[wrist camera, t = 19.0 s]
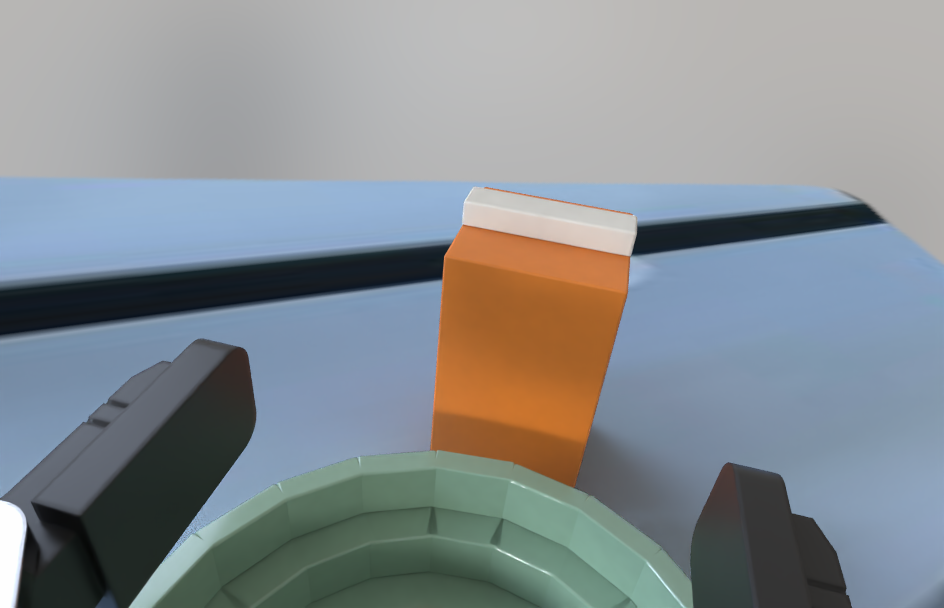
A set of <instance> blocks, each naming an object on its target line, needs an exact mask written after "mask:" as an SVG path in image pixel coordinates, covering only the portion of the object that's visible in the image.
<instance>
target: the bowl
mask: <svg viewBox="0 0 944 608" xmlns="http://www.w3.org/2000/svg"><path fill="white" fill-rule="evenodd" d="M129 608H693V596H692V582H691V581H690V579H689V578H688V577H687V576H686V575H685V573H684V572H683V571H682V570H681V569H680V568H679V566H678V565H677V564H676V563H675V562H674V561H673V559H672V558H671V557H670V556H669V555H668V554H667V552H666V551H665V550H662V547H661V546H660V545H658V544H657V543H656V542H654V541H653V540H652V539H650V538H649V537H648V536H646V535H645V534H643V533H642V532H641V531H639V530H638V529H637V528H635V527H634V526H633V525H631V524H630V523H629V522H627V521H626V520H624V519H623V518H622V517H620V516H619V515H618V514H616V513H615V512H614V511H612V510H611V509H609V508H608V507H607V506H605V505H604V504H603V503H601V502H600V501H599V500H597V499H596V498H594V497H593V496H591V495H590V496H589V495H588V494H587V493H585V492H583V491H580V490H578V489H575V488H573V487H571V486H568V485H566V484H564V483H561V482H559V481H556V480H554V479H552V478H549V477H547V476H545V475H542V474H540V473H538V472H535V471H533V470H530V469H528V468H526V467H523V466H521V465H519V464H514V462H510V461H503V460H497V459H491V458H485V457H479V456H473V455H467V454H460V453H454V452H448V451H442V450H437V452H436V451H434V450H433V451H420V452H407V453H394V454H381V455H368V456H359V457H358V458H357V457H354V458H351V459H348V460H345V461H342V462H338V463H335V464H332V465H329V466H326V467H323V468H320V469H317V470H314V471H311V472H308V473H305V474H302V475H299V476H295V477H292V478H289V479H286V480H283V481H280V482H278V483H277V485H276V484H273V485H272V486H270V487H268V488H267V489H265V490H263V491H262V492H260V493H259V494H257V495H255V496H254V497H252V498H250V499H249V500H247V501H245V502H244V503H242V504H241V505H239V506H237V507H236V508H234V509H232V510H231V511H229V512H227V513H226V514H224V515H222V516H221V517H219V518H218V519H216V520H214V521H213V522H211V523H209V524H208V525H206V526H204V527H203V528H201V529H200V530H198V531H197V532H196V533H195V534H191V535H190V536H189V537H188V538H187V539H186V540H185V541H184V542H183V543H182V544H181V545H180V546H179V547H178V548H177V549H176V550H175V551H174V552H173V553H172V554H171V555H170V556H169V557H168V558H167V559H166V560H165V561H164V562H163V563H162V564H161V565H160V566H159V567H158V568H157V569H156V571H155V572H154V574H153V575H152V576H151V578H150V579H149V580H148V582H147V583H146V585H145V586H144V587H143V589H142V590H141V591H140V593H139V594H138V595H137V597H136V598H135V600H134V601H133V602H132V604H131V605H130V606H129Z"/></svg>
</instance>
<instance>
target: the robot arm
mask: <svg viewBox="0 0 944 608" xmlns="http://www.w3.org/2000/svg"><path fill="white" fill-rule="evenodd" d="M255 422H256V407H255V400H254V393H253V386H252V379H251V372H250V365H249V358H248V354H247V352H246V351H245V349H243V348H241V347H237V346H233V345H228V344H224V343H220V342H215V341H211V340H207V339H197V340H195V341H194V342H192V343H191V344H190V345H189V346H188V347H187V348H186V349H185V350H184V351H183V352H182V353H181V354H180V355H179V356H178V357H177V358H176V359H175V360H174V361H173V362H172V363H171V362H167V361H161V362H159V363H157V364H156V365H154V366H152V367H150V368H148V369H146V370H144V371H142V372H140V373H138V374H137V375H135V376H133V377H131V378H130V379H129V380H128V381H127V382H126V383H125V384H124V385H123V386H122V387H120V388H119V389H118V390H117V391H116V392H115V393H114V394H113V395H112V396H111V397H110V398H109V399H108V402H107V404H104V403H103V404H102V405H101V406H100V407H99V408H98V409H97V410H96V411H95V412H94V413H93V414H92V415H90V416H89V419H88V421H87V422H86V423H85V422H83V423H82V424H81V425H80V426H79V427H78V428H76V429H75V430H74V431H73V432H72V433H71V434H70V435H69V436H68V437H67V438H66V439H65V440H64V441H63V442H61V443H60V444H59V445H58V446H57V447H56V448H55V449H54V450H53V451H52V452H51V453H50V454H49V455H48V456H46V457H45V458H44V459H43V460H42V461H41V462H40V463H39V464H38V465H37V466H36V467H35V468H34V469H33V470H31V471H30V472H29V473H28V474H27V475H26V476H25V477H24V478H23V479H22V480H21V481H20V482H19V483H18V484H16V485H15V486H14V487H13V488H12V489H11V490H10V491H9V492H8V493H6V494H5V495H4V496H3V497H2V498H0V608H129V606H130V605H131V604H132V602H133V601H134V600H135V598H136V597H137V595H138V594H139V593H140V591H141V590H142V589H143V587H144V586H145V585H146V583H147V582H148V580H149V579H150V578H151V576H152V575H153V574H154V572H155V571H156V569H157V568H158V567H159V565H160V564H161V563H162V561H163V560H164V559H165V557H166V556H167V554H168V553H169V552H170V550H171V549H172V548H173V546H174V545H175V543H176V542H177V541H178V539H179V538H180V537H181V535H182V534H183V532H184V531H185V530H186V528H187V527H188V526H189V524H190V523H191V522H192V520H193V519H194V517H195V516H196V515H197V513H198V512H199V511H200V509H201V508H202V506H203V505H204V504H205V502H206V501H207V500H208V498H209V497H210V496H211V494H212V493H213V491H214V490H215V489H216V487H217V486H218V485H219V483H220V482H221V480H222V479H223V478H224V476H225V475H226V474H227V472H228V471H229V470H230V468H231V467H232V465H233V464H234V463H235V461H236V460H237V459H238V457H239V456H240V454H241V453H242V452H243V450H244V449H245V447H246V446H247V444H248V442H249V441H250V438H251V436H252V433H253V430H254V427H255ZM690 562H691V580H692V596H693V608H852V606H851V602H850V599H849V596H848V595H846V589H847V588H846V585H845V581H844V578H843V574H842V570H841V567H840V563H839V560H838V556H837V553H836V551H835V550H834V548H833V547H832V545H831V544H830V543H829V541H828V540H827V538H826V537H825V535H824V534H823V532H822V531H821V530H820V528H819V527H818V525H817V524H816V522H815V521H814V519H813V518H809V517H805V516H801V515H796V514H792V513H791V509H790V504H789V500H788V496H787V491H786V487H785V483H784V480H783V478H782V477H781V475H779V474H777V473H772V472H768V471H764V470H759V469H755V468H751V467H747V466H742V465H738V464H734V463H729V462H728V463H726V464H725V465H724V466H723V468H722V470H721V472H720V474H719V476H718V478H717V480H716V482H715V485H714V487H713V489H712V491H711V493H710V495H709V497H708V500H707V502H706V504H705V506H704V508H703V510H702V512H701V515H700V517H699V519H698V521H697V524H696V526H695V530H694V534H693V538H692V545H691V559H690Z"/></svg>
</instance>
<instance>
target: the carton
mask: <svg viewBox="0 0 944 608" xmlns="http://www.w3.org/2000/svg"><path fill="white" fill-rule="evenodd" d="M462 223H463V225H462V227H461V229H460V231H459V232H458V234H457V236H456V237H455V239H454V241H453V243H452V244H451V246H450V248H449V249H448V251H447V253H446V255H445V256H444V268H443V282H442V296H441V310H440V324H439V337H438V351H437V365H436V379H435V393H434V407H433V420H432V434H431V448H430V451H433V450H434V451H436V452H437V450H442V451H448V452H454V453H460V454H467V455H473V456H479V457H485V458H491V459H497V460H503V461H510V462H514V464H519V465H521V466H523V467H526V468H528V469H530V470H533V471H535V472H538V473H540V474H542V475H545V476H547V477H549V478H552V479H554V480H556V481H559V482H561V483H564V484H566V485H568V486H571V487H573V488H575V484H576V481H577V477H578V474H579V470H580V466H581V463H582V459H583V455H584V452H585V448H586V444H587V441H588V437H589V433H590V430H591V426H592V422H593V419H594V415H595V411H596V408H597V404H598V400H599V397H600V393H601V389H602V386H603V382H604V379H605V375H606V371H607V368H608V364H609V360H610V357H611V353H612V349H613V346H614V342H615V338H616V335H617V331H618V327H619V324H620V320H621V316H622V313H623V309H624V305H625V302H626V298H627V294H628V282H629V268H630V255H631V254H632V250H633V246H634V242H635V239H636V235H637V217H636V216H633V214H631V213H625V212H620V211H614V210H609V209H603V208H598V207H592V206H587V205H581V204H576V203H570V202H565V201H559V200H554V199H548V198H543V197H537V196H532V195H526V194H521V193H515V192H510V191H504V190H499V189H493V188H488V187H485V188H480V187H473V188H472V190H471V192H470V193H469V195H468V196H467V198H466V200H465V201H464V207H463V218H462Z"/></svg>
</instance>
